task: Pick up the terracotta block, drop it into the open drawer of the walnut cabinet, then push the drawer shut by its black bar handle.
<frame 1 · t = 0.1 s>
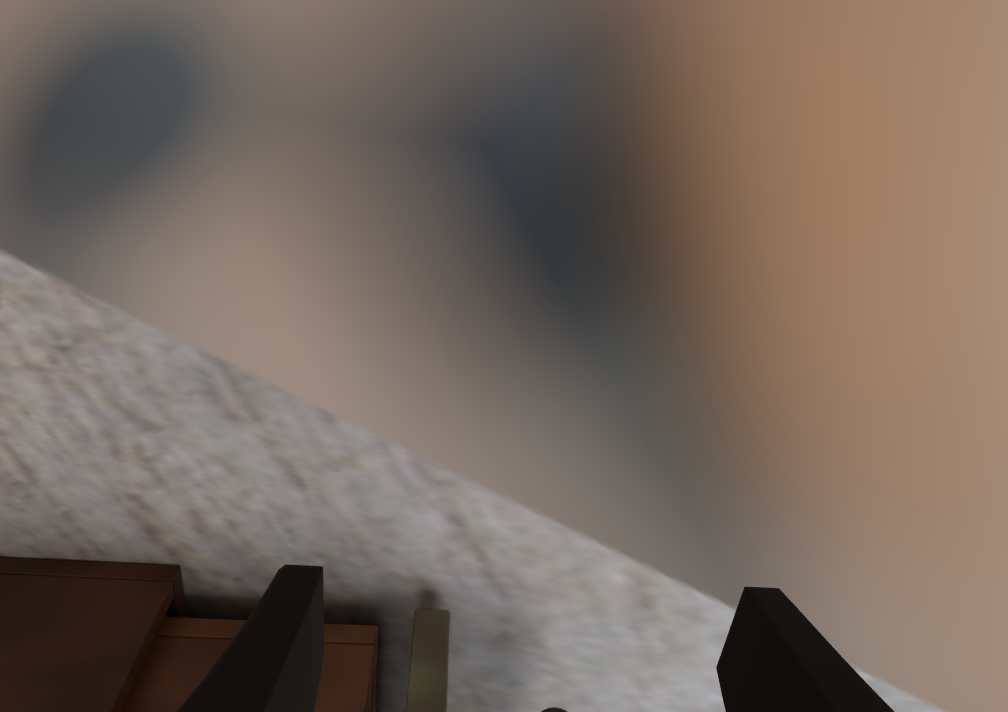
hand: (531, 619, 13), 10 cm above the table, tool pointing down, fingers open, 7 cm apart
cabinet: (22, 672, 27), on the table
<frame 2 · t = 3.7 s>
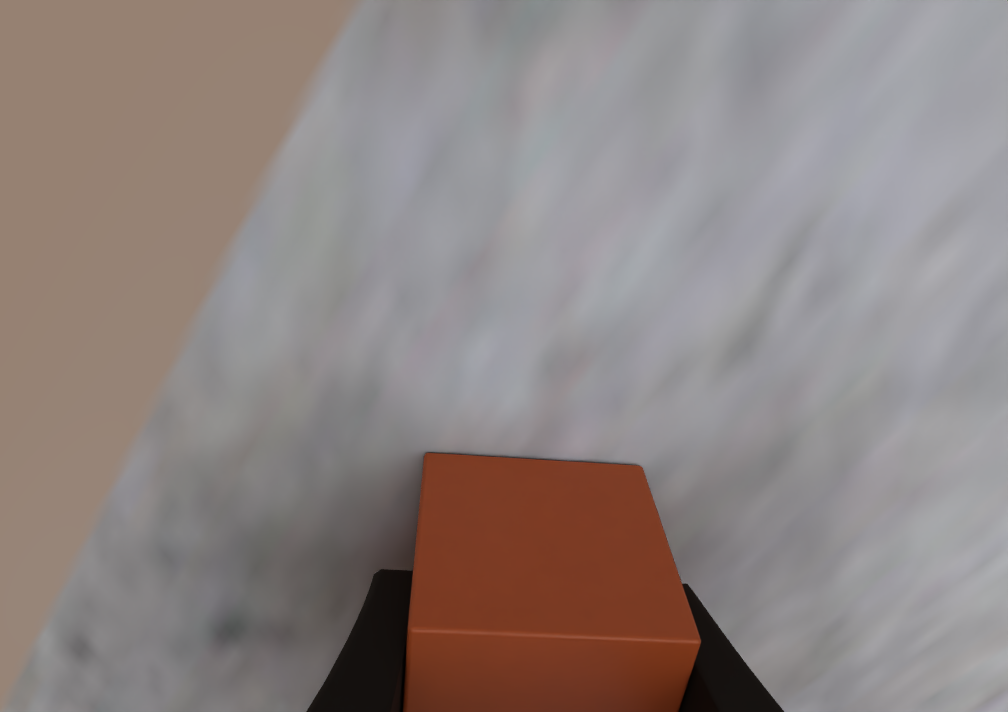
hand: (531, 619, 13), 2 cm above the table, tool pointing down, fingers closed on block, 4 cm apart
block: (522, 541, 14), on the table, touching gripper
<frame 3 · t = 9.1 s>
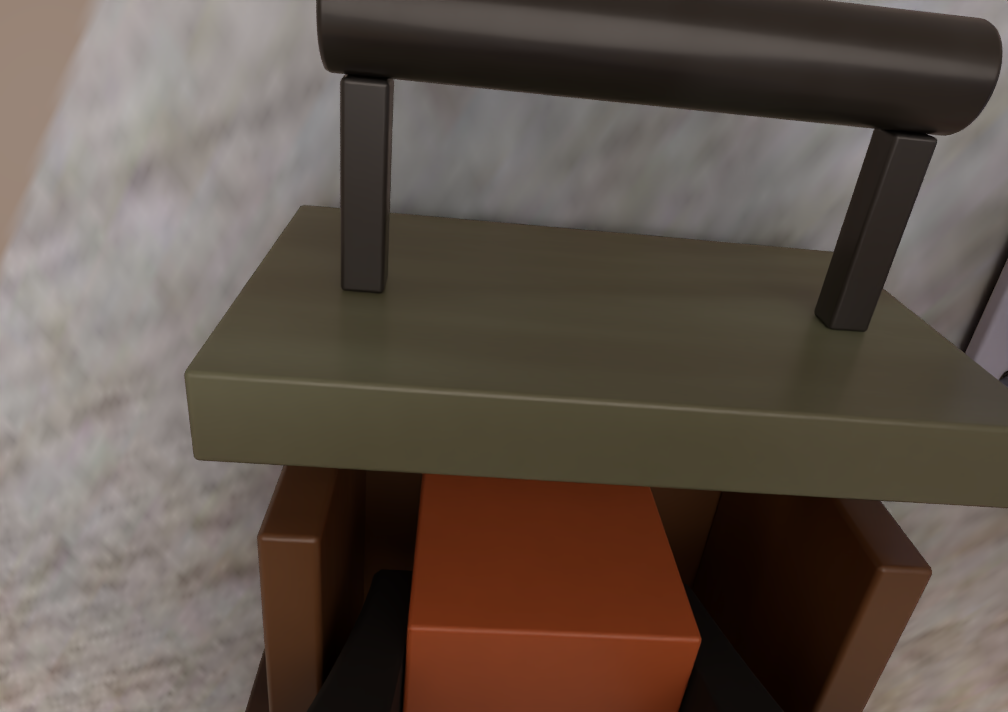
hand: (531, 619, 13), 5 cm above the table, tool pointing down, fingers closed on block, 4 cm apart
block: (522, 540, 14), point 3 cm above the table, touching gripper
drawer: (569, 485, 13), point 4 cm above the table, slide at 8.0 cm, touching gripper
when the fingers open (8 cm above the table, at t = 23.9 s): block drops 5 cm, resting on drawer.
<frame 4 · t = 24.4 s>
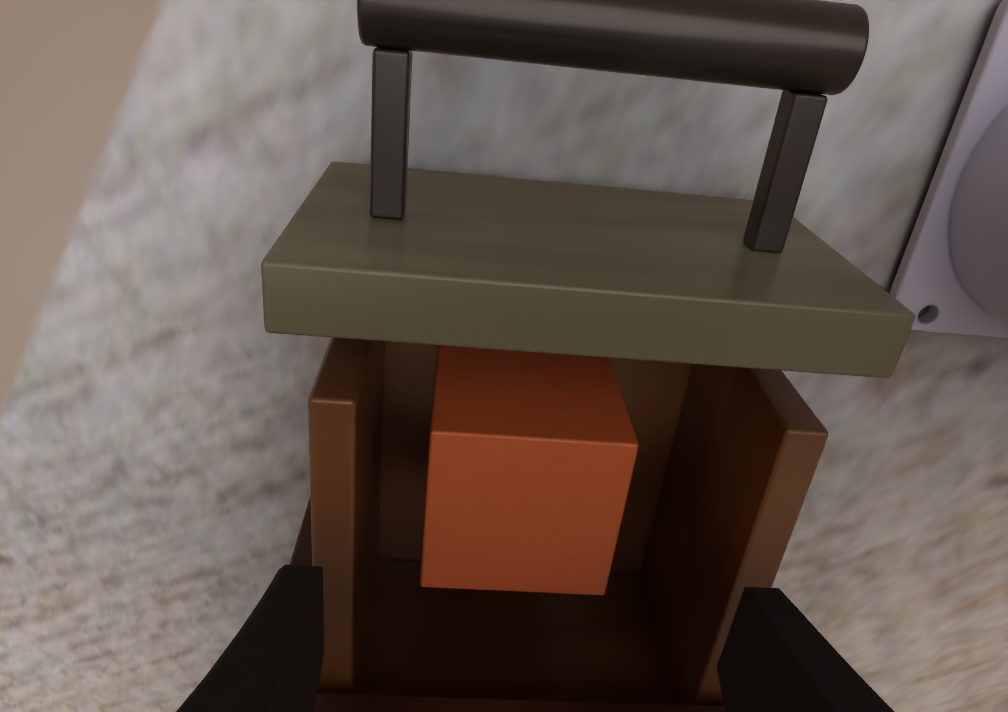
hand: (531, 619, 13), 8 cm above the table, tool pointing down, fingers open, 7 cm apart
block: (514, 412, 18), point 2 cm above the table, touching drawer
drawer: (551, 387, 16), point 4 cm above the table, slide at 8.0 cm, touching block
cabinet: (493, 630, 25), on the table
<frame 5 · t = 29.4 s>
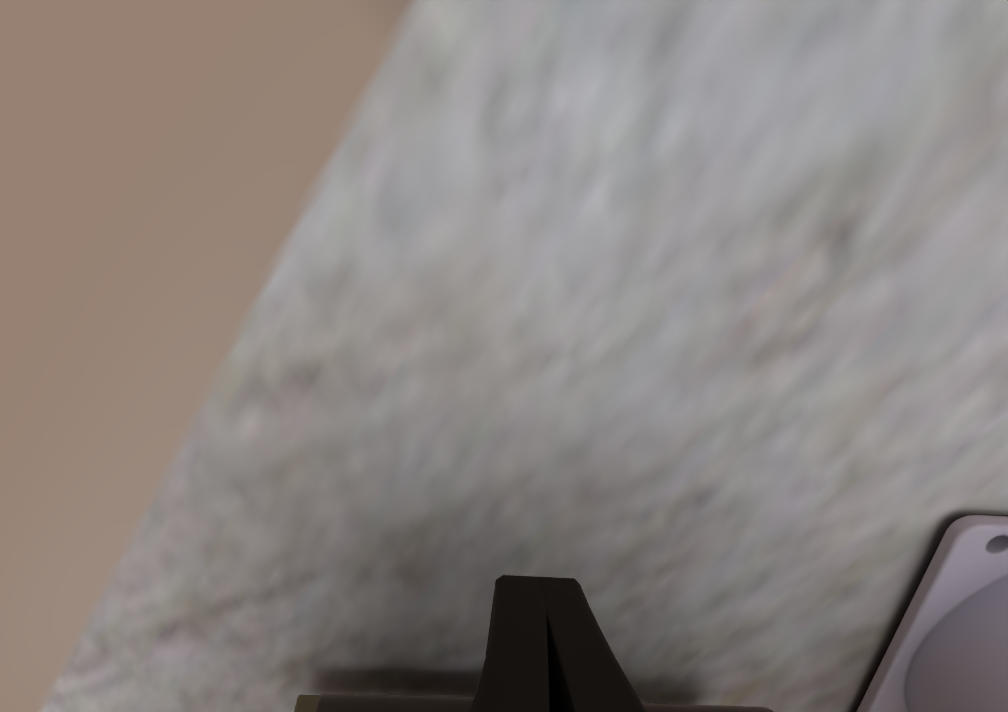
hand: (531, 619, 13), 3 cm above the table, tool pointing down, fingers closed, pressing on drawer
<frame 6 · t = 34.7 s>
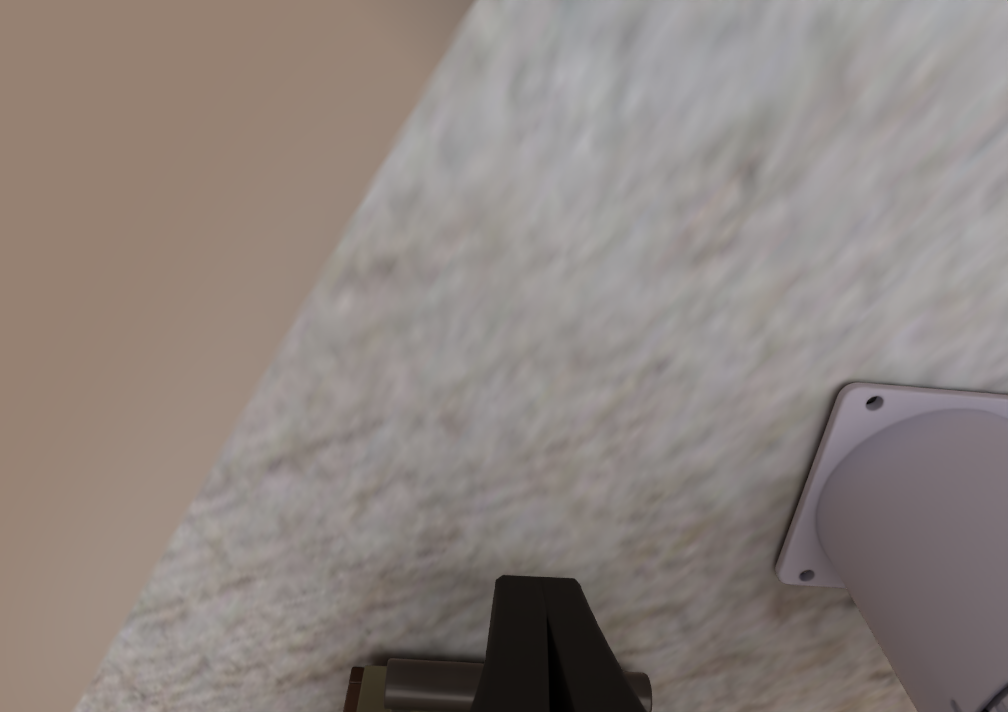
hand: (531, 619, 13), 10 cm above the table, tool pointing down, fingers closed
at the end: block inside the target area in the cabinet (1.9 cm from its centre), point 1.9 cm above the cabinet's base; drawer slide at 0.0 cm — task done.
